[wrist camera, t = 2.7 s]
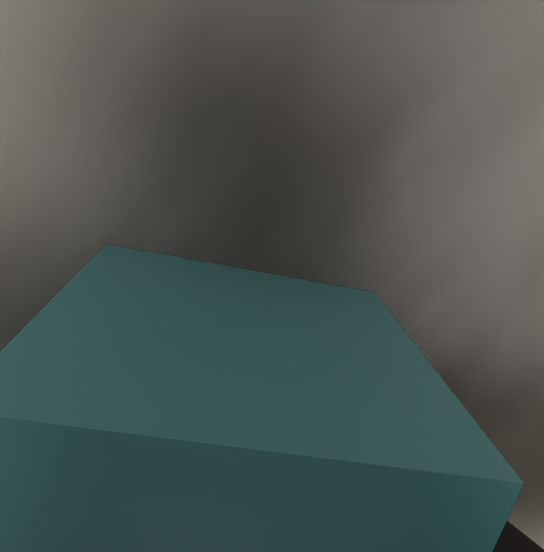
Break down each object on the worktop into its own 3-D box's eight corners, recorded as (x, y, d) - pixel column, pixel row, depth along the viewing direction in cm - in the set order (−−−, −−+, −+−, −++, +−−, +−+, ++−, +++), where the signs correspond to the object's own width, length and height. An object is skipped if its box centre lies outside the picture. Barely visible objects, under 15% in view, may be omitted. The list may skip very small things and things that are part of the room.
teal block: (372, 291, 9) (523, 483, 4) (312, 494, 11) (374, 802, 6) (107, 242, 8) (-60, 410, 4) (82, 468, 10) (-56, 794, 5)
